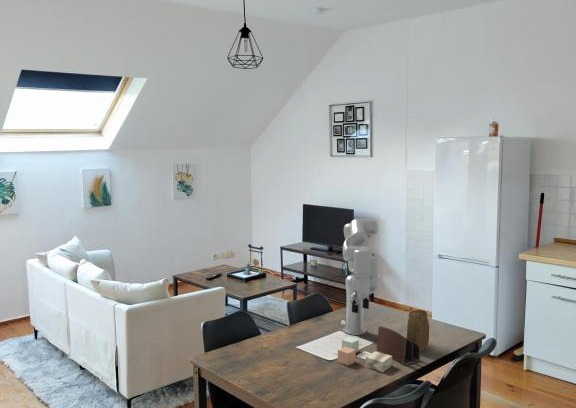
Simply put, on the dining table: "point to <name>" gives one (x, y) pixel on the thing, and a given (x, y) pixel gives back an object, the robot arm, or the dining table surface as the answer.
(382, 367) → the birch block
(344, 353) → the terracotta cube
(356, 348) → the sage cube
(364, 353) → the card
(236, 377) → the dining table surface
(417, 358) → the letter holder
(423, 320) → the block
